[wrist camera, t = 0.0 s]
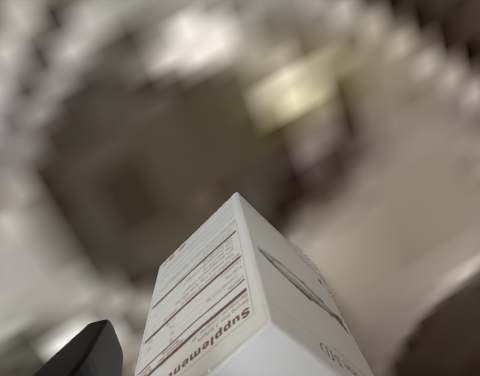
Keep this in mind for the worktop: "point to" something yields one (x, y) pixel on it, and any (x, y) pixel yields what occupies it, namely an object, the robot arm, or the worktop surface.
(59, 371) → the robot arm
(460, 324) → the worktop surface
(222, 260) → the supplement box
